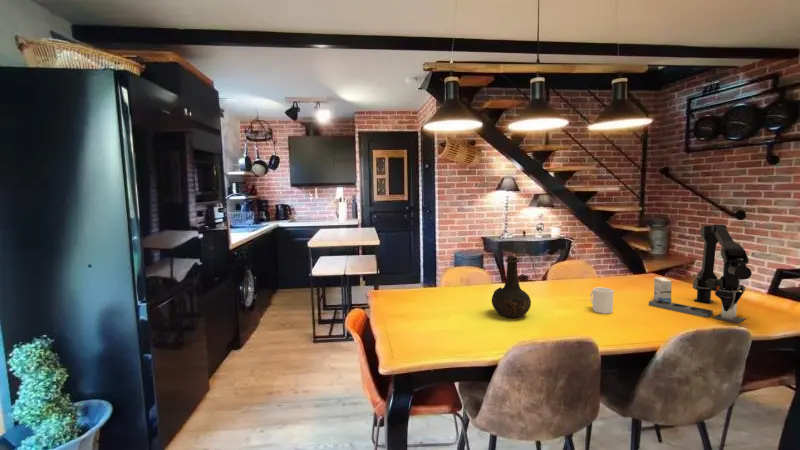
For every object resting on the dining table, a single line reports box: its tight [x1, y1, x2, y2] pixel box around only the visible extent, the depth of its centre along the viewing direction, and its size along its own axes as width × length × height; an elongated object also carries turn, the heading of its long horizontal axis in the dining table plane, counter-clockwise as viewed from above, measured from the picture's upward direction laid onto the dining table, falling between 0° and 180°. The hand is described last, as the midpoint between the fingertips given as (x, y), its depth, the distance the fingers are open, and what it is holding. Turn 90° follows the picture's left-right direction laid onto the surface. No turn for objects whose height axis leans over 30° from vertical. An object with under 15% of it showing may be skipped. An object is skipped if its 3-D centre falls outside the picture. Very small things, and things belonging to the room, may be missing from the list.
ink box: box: [653, 276, 673, 302], centre depth 198 cm, size 9×5×12 cm, turn 168°
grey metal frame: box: [648, 298, 714, 319], centre depth 184 cm, size 7×24×2 cm, turn 36°
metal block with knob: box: [720, 302, 738, 320], centre depth 171 cm, size 4×4×8 cm
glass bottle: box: [491, 255, 532, 319], centre depth 179 cm, size 18×18×28 cm
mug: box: [590, 286, 614, 315], centre depth 185 cm, size 9×12×11 cm
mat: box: [712, 313, 746, 325], centre depth 171 cm, size 9×9×1 cm
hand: (729, 309), depth 171 cm, fingers open, 9 cm apart
